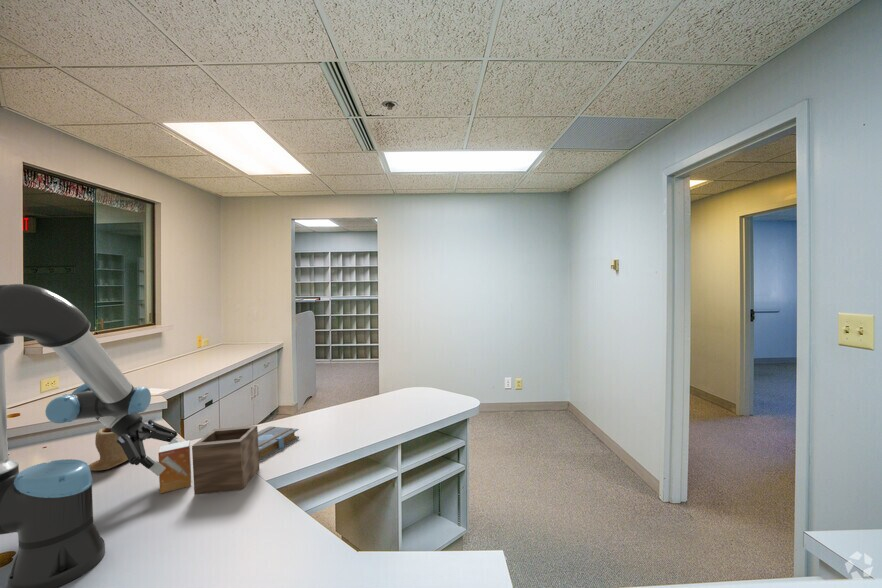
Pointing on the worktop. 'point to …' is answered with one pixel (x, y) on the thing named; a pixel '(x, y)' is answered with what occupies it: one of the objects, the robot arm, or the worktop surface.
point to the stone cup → (108, 450)
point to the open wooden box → (225, 459)
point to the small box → (175, 466)
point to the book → (274, 439)
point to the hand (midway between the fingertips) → (175, 462)
